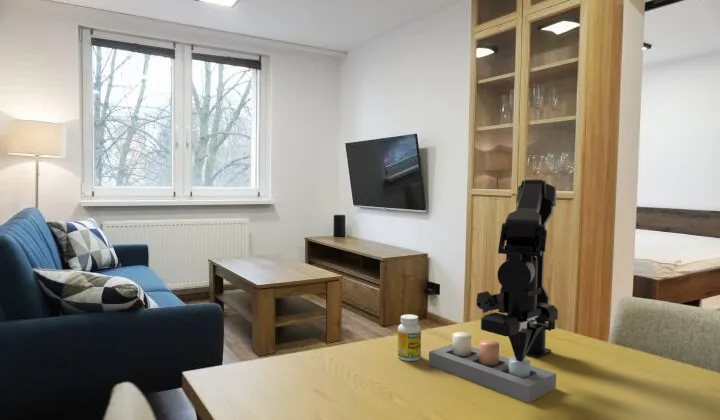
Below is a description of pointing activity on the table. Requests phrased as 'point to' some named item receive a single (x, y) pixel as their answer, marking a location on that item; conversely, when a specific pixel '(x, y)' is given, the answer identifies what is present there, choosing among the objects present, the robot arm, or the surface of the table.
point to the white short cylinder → (461, 344)
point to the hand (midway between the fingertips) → (519, 360)
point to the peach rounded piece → (489, 352)
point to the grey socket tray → (494, 374)
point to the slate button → (519, 368)
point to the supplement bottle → (409, 338)
